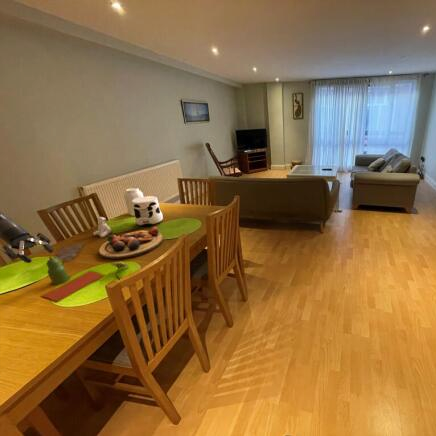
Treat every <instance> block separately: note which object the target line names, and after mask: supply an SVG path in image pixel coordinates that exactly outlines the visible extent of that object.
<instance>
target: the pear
mask: <svg viewBox="0 0 436 436" xmlns="http://www.w3.org/2000/svg"><path fill="white" fill-rule="evenodd" d="M48 258H49V259H48V260H47V261H46V266H47V274H48V276H49V279H50V281H51V283H52V285H56V286H57V285H61V284H63V283H64V284H65V282H66V283H67V281H68V280H69V279H70V278H69V275H68V272H67V270H66V268H65V266H63V265H62V264H61V263H60V261H59V259H58V258H55V259H53V258H52V256H49V257H48ZM57 259H58V260H57Z"/></svg>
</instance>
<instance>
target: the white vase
mask: <svg viewBox="0 0 436 436" xmlns="http://www.w3.org/2000/svg"><path fill="white" fill-rule="evenodd" d="M139 197H144V193H143V192H142V191H141V190H140V189H139V188H138V187H131V188H127V189H126V190H125V193H124V194H123V198H124V202H125V205H126V208H127V212H128V215H129V216H132V217H135V212H134V209H133V205H132V200H134V199H136V198H139Z"/></svg>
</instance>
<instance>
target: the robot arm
mask: <svg viewBox="0 0 436 436" xmlns="http://www.w3.org/2000/svg"><path fill="white" fill-rule="evenodd" d="M0 239H1V240H2V241H3V242H5V243H6V244H7V245H4V246H2V249H1V251H2V252H3V253H4V254H5V255H6V256H7V257H8V258H9V259H11V260H15V259H20V260H21V261H22V262H24V263H25V264H31V263H32V261H33V259H32V258H31V257H29V256H28V255H26V254H24V251H27V250H28V249H32V248H34V247H35V248H36V247H37V248H40V247H41V248H43V249H44V250H45V251H47V252H48V253H49V254H52V253H54V248H53V247H52V246H51V245H50V243H51V239H49V237H47V236H46V235H44V234H43V233H41V232H38V233H37V234H35V235H32V234H31V233H29V232H28V231H27V230H26V229H24V228H23V227H22V226H21V225H20V224H19V223H17V222H15V221H14V220H12V219H11V218H9V217H8V216H7V215H6V214H5V213H3V212H2V211H0ZM13 249H14V250H17V253H16V252H15V251H13Z"/></svg>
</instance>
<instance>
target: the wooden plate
mask: <svg viewBox="0 0 436 436" xmlns="http://www.w3.org/2000/svg"><path fill="white" fill-rule="evenodd" d="M162 242H163V234H161V233H160V232H159V229H158V227H156V226H154V227H151V228H150V229H149V230H136V231H131V232H128V233H122V234H119V235H116V234H110V235H107V239H106V241H105V242H103V244H101V246H100V247H99V248H98V254H99V256H100V257H103V258H104V259H108V260H120V259H128V258H132V257H137V256H140V255H143V254H146V253H148V252H150V251H152V250H153V249H155V248H157V247H159V245H160V244H161V243H162Z"/></svg>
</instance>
